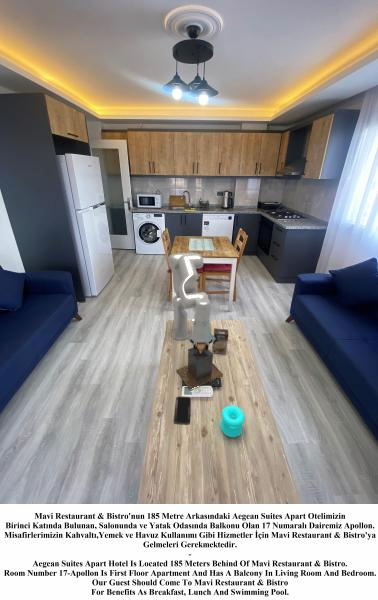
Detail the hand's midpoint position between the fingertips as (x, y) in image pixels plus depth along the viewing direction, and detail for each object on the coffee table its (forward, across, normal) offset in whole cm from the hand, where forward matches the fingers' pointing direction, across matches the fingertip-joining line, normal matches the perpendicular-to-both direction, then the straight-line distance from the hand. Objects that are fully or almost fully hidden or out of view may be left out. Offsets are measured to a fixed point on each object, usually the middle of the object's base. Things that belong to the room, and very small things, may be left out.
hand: (200, 349), depth 133 cm
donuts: (+19, +14, -34) cm, 41 cm away
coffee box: (+18, +14, +21) cm, 31 cm away
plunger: (+16, 0, 0) cm, 16 cm away
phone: (+19, -9, -25) cm, 32 cm away
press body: (+18, 0, 0) cm, 18 cm away
